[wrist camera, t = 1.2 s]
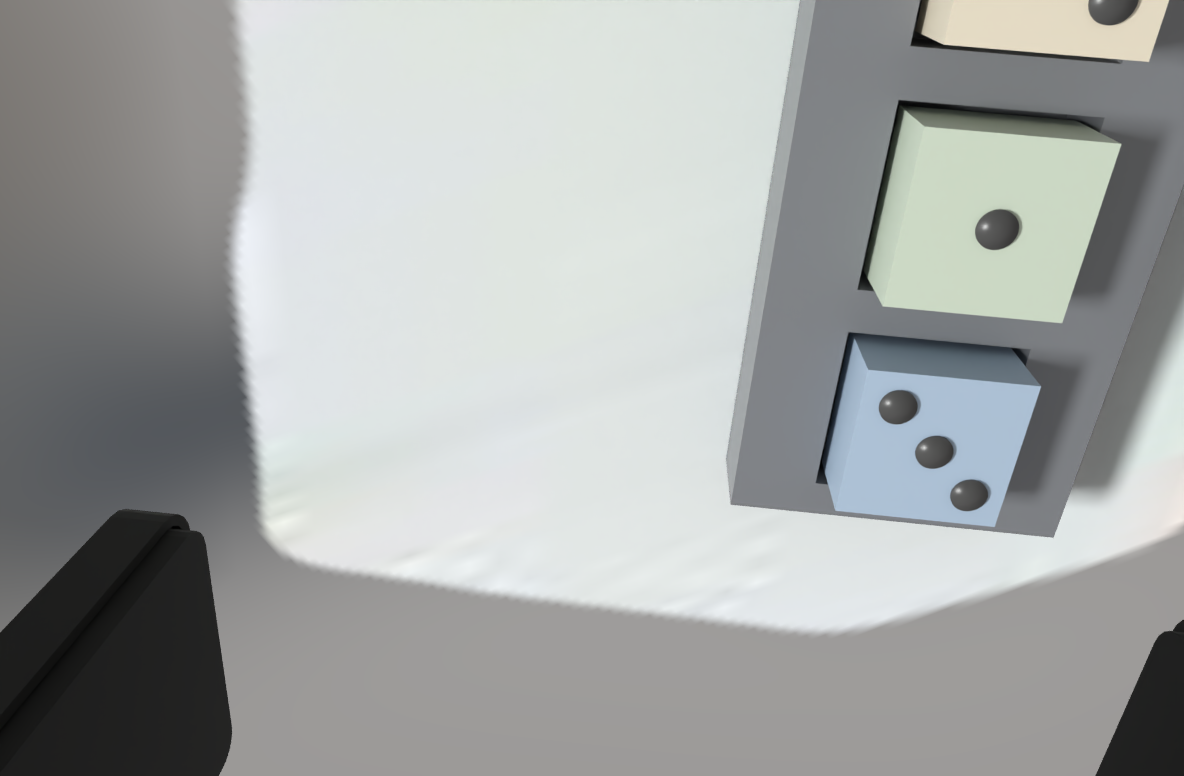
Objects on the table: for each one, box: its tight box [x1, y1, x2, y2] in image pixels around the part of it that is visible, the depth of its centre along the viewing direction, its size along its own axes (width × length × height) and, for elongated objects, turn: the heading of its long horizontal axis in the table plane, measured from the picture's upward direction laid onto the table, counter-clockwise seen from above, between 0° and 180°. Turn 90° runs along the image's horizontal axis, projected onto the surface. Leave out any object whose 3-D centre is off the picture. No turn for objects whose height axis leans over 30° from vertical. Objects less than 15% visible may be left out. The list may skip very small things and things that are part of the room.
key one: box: [863, 105, 1121, 323], centre depth 26 cm, size 5×5×3 cm
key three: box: [822, 332, 1041, 527], centre depth 29 cm, size 5×5×3 cm
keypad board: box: [726, 0, 1184, 537], centre depth 28 cm, size 22×11×3 cm, turn 176°
